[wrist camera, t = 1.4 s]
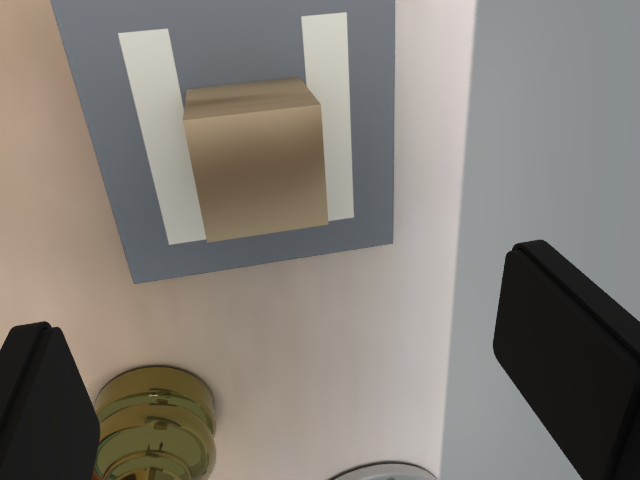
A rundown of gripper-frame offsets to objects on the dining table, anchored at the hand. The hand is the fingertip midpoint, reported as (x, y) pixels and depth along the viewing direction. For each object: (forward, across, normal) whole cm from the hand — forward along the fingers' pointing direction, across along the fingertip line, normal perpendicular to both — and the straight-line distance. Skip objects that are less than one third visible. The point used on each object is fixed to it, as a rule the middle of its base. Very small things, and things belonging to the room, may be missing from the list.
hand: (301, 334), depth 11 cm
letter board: (+16, 0, +1) cm, 16 cm away
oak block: (+15, 0, +1) cm, 15 cm away
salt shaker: (+16, +8, +18) cm, 25 cm away
